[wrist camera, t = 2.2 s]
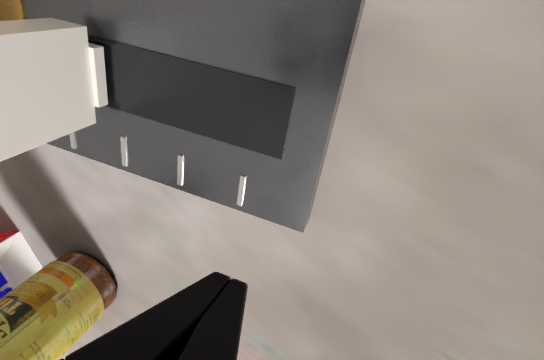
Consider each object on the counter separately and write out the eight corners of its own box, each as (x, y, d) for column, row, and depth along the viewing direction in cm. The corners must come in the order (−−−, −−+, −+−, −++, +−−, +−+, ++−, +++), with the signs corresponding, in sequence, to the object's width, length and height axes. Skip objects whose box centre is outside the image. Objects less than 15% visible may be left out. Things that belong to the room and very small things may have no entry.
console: (365, -1, 15) (350, 0, 12) (308, 221, 21) (287, 266, 18) (-47, -80, 21) (-142, -95, 17) (0, 116, 27) (-63, 135, 23)
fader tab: (101, 26, 19) (-131, 51, 11) (109, 120, 21) (-73, 196, 13) (58, 15, 19) (-192, 31, 11) (70, 108, 22) (-125, 174, 14)
